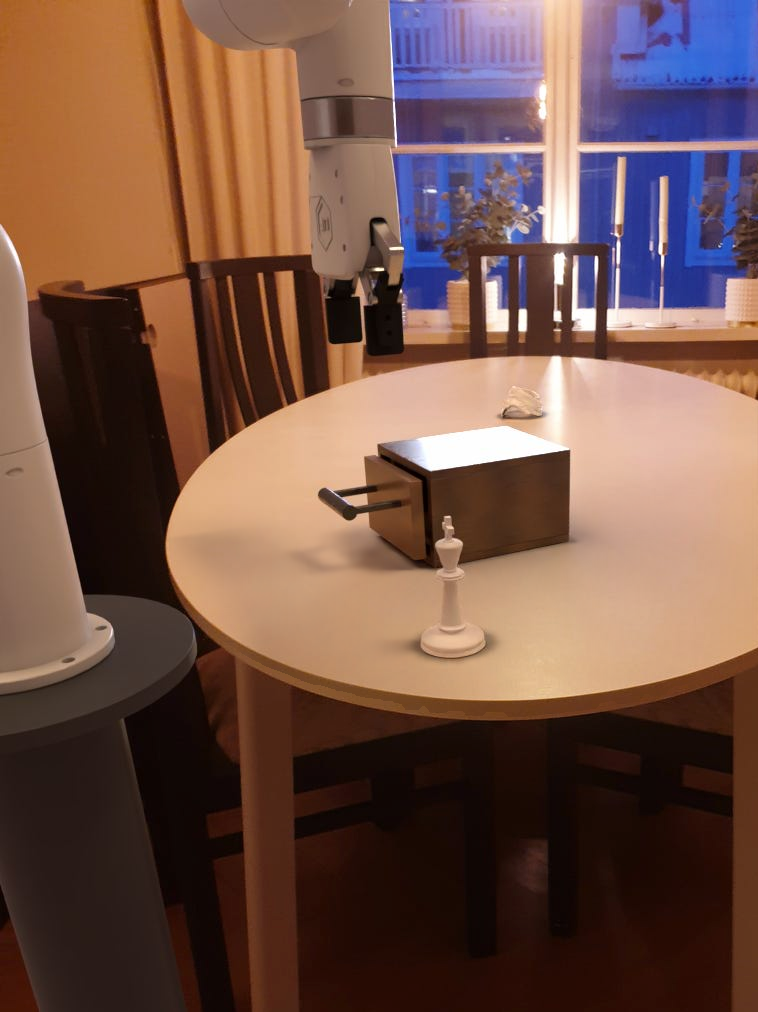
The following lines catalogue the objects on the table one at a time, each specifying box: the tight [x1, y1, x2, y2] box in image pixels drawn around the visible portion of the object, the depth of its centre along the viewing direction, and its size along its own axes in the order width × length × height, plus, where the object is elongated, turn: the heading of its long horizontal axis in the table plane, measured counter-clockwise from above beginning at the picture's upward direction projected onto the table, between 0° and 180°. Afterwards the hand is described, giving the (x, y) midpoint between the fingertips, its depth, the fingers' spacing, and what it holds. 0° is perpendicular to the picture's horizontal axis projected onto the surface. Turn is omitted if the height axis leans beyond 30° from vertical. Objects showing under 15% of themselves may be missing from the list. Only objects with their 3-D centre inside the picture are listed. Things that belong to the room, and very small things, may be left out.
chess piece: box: [420, 516, 486, 659], centre depth 68 cm, size 5×5×10 cm
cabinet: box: [376, 425, 571, 569], centre depth 92 cm, size 15×13×9 cm
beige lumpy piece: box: [500, 386, 544, 417], centre depth 147 cm, size 8×7×5 cm
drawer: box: [317, 454, 430, 561], centre depth 90 cm, size 19×11×7 cm, turn 117°
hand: (364, 348), depth 82 cm, fingers open, 9 cm apart
